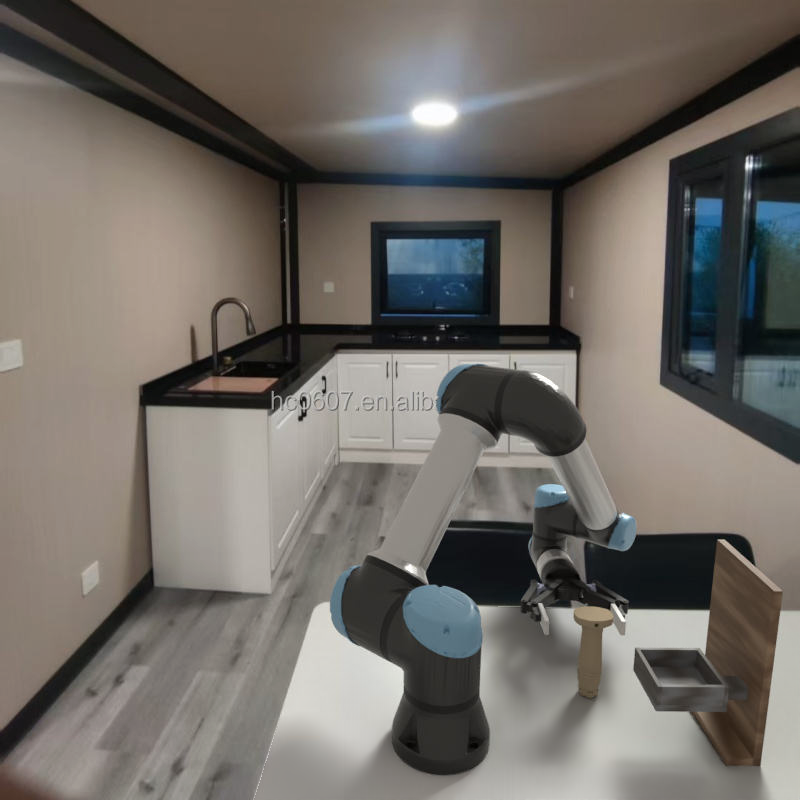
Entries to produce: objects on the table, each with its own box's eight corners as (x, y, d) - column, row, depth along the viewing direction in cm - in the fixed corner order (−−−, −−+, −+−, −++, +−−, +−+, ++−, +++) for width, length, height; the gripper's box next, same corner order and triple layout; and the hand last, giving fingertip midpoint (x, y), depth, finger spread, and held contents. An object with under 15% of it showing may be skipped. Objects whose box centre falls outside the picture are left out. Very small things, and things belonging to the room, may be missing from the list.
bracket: (651, 765, 102) (666, 590, 96) (614, 690, 120) (626, 538, 114) (760, 766, 102) (783, 591, 96) (708, 690, 120) (724, 539, 114)
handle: (610, 702, 116) (616, 621, 113) (572, 701, 117) (577, 620, 114) (603, 685, 121) (608, 606, 118) (566, 684, 121) (571, 606, 118)
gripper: (617, 591, 144) (653, 647, 124) (498, 590, 144) (514, 646, 124) (619, 558, 143) (656, 609, 122) (499, 557, 143) (516, 608, 122)
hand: (585, 628), depth 123 cm, fingers open, 13 cm apart
